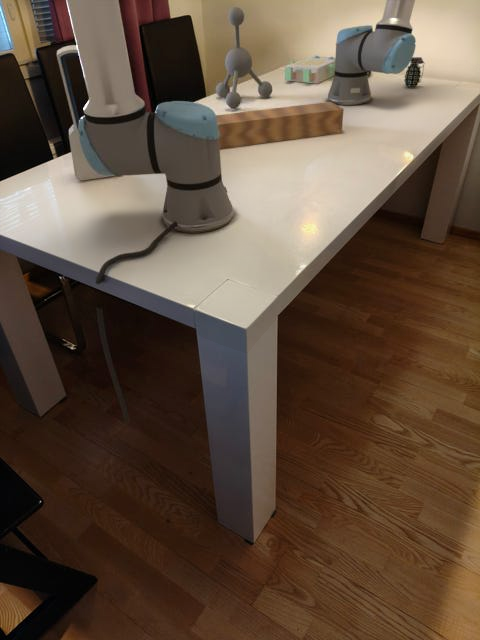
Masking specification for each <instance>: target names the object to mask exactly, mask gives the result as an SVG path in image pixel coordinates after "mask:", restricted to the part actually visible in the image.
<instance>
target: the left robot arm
mask: <svg viewBox="0 0 480 640" xmlns="http://www.w3.org/2000/svg"><path fill="white" fill-rule="evenodd" d="M65 1H66V5H67V10H68V14H69V18H70V19H69V20H70V23H71V28H72V31H73V35H74V40H75V44H76V46H77V49H78V53H79V61H80V65H81V69H82V70H81V71H82V73H83V79H84V82H85V87H86V91H87V95H88V101H87V102H86V104H85V105H84V107H83V114H84V115H83V116H81V117H80V118H79V125H78V131H79V134H80V137H79V139H80V144H81V147H82V150H83V153H84V155H85V158H86V160H87V162H88V163H89V165H90V166H91V168H92V169H93V170H94V171H96V172H97V173H98V174H100V175H109V177H118V178H119V177H123V176H142V175H163V174H164V175H165V180H166V190H165V191H166V192H165V196H164V203H163V207H162V218H163V222H164V224H165V226H167V227H166V228H165V229H164V230H163V231H162V232H161V233H160V234H159V235H157V237H156V238H154V240H153V241H152V242H151V243H150V244H149V245H148V247H146V248H145V249H142V250H140V251H134V252H126V253H121V254H117V255H116V256H113V257H112V258H109V259H107V260H106V261H105V262H104V263H103V264H102V266H101V267H100V269H99V271H98V274H97V276H96V280H95V284H96V285H99V284H101V283H102V282H103V279H104V276H105V273H106V271H107V269H108V268H109V267H110V266H112V265H113V264H115V263H117V262H119V261H122V260H125V259H131V258H132V259H133V258H140V257H143V256H146V255H148V254H150V253H151V252H152V251H153V250H154V249H155V248H156V246H157V245H158V244H159V243H160V242H161V241H162V240H163V239H164V238H165V237H167V235H169V234H170V232H172V231H177V232H180V233H190V234H191V233H192V234H193V233H194V234H195V233H196V234H197V233H205V232H206V233H207V232H210V231H215V230H216V229H220V228H222V227H224V226H226V225H227V224H228V223H230V221H231V220H232V218H233V216H234V212H233V211H234V210H233V205H232V201H231V200H230V197H229V195H228V193H229V192H228V190H227V187H226V186H225V184H224V182H223V175H222V174H223V173H222V164H221V149H219V136H220V133H219V131H218V124H217V117H216V115H217V114H216V113H215V111H214V110H213V109H212V108H211V107H209V106H207V105H204V104H202V103H199V102H194V101H185V100H173V101H165V102H161V103H159V104H158V105H156V109H155V111H154V112H148V111H147V110H146V103H145V100H144V99H142V98H141V97H140V96H139V95H137V94H136V92H135V91H136V90H135V86H134V81H133V75H132V70H131V63H130V58H129V53H128V47H127V41H126V35H125V29H124V25H123V19H122V12H121V6H120V1H119V0H65ZM96 317H97V323H98V329H99V335H100V340H101V345H102V348H103V349H102V350H103V354H104V356H105V360H106V363H107V367H108V371H109V374H110V377H111V380H112V383H113V386H114V389H115V392H116V395H117V398H118V402H119V405H120V408H121V411H122V415H123V419H124V423H125V424H126V425H129V424H130V423H131V420H130V417H129V413H128V409H127V406H126V402H125V398H124V396H123V392H122V389H121V386H120V384H119V383H120V382H119V379H118V377H117V374H116V371H115V367H114V364H113V359H112V356H111V353H110V348H109V345H108V339H107V334H106V328H105V321H104V313H103V309H102V308H100V307H96Z"/></svg>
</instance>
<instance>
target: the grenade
mask: <svg viewBox="0 0 480 640" xmlns="http://www.w3.org/2000/svg"><path fill="white" fill-rule="evenodd" d="M421 64H422V66H420V65H421ZM425 64H426V63H425V61H424V60H423V58H422V56H421V57H420V56H416V57H415V56H413V57H412V59H411V61H410V63H409V65H408V66H407V67H406V68H407V69H406V71H405V74H404V85H405V86H406V88H408V89H412V88H413V89H414V88H415V87H417V86H418V85H419V84H420V82H421V81H422V78H423V74H424V71H421V68H422V70H424V69H425Z"/></svg>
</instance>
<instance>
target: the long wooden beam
mask: <svg viewBox="0 0 480 640" xmlns="http://www.w3.org/2000/svg"><path fill="white" fill-rule="evenodd" d="M216 117H217V124H218V131H219V133H220V136H219V149H220V150H221V149H228V148H237V147H244V146H245V147H246V146H251V145H259V144H260V145H261V144H268V143H275V142H283V141H291V140H297V139H304V138H305V139H306V138H312V137H319V136H329V135H336V134H342V133H343V122H344V108H343V107H340V106H339V105H338V104H334V103H333V102H329V101H326V102H316V103H309V104H308V103H307V104H299V105H292V106H283V107H274V108H266V109H259V110H258V109H257V110H250V111H241V112H233V113H232V112H231V113H225V114H216Z"/></svg>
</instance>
